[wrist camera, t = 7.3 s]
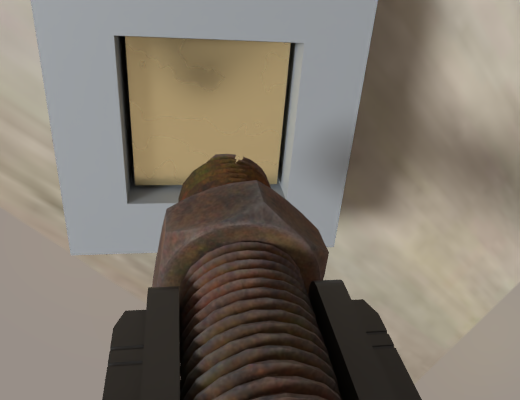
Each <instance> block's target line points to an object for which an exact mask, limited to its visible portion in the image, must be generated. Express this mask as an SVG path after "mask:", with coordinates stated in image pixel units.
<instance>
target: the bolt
mask: <svg viewBox="0 0 520 400" xmlns="http://www.w3.org/2000/svg"><path fill="white" fill-rule="evenodd" d="M235 157H236V155H235V154H215V156H213V157H212V158H211V159H210V160H208V161H207V162H206V163H205V164H203V165H201V166H200V167H198V168H197V169H195V170H194V171H193V172H192V173H191V174H190V175H189V177H188V178H187V179H186V180H185V182H184V183H183V185H182V188H181V191H180V195H179V198H178V203H176V204H174V205H173V206H171V207H169V208H167V209H166V213H165V217H164V221H163V225H162V230H161V235H160V240H159V246H158V252H157V257H156V263H155V270H154V276H153V285H152V287H172V286H179V319H180V322H179V324H180V377H181V380H180V400H343V399H342V397H341V394H340V392H339V389H338V382H337V378H336V375H335V373H334V369H333V366H332V364H331V361H330V359H329V354H328V350H327V348H326V346H325V343H324V338H323V336H322V334H321V331H320V329H319V326H318V324H317V322H316V315H315V314H314V310H313V307H312V305H311V303H310V298H309V296H308V292H309V286H310V283H311V281H322V280H323V278H324V274H325V269H326V264H327V259H328V254H329V252H328V250H327V248H326V245H325V243H324V241H323V239H322V236H321V234H320V232H319V230H318V229H317V228H316V227H315V226H314V225H313V224H312V223H311V222H310V221H309V220H308V219H307V218H306V217H305V216H304V215H303V214H302V213H301V212H300V211H299V210H298V209H297V208H295V207H294V206H293V205H292V204H291V203H290V202H289V201H287V200H286V199H285V198H283V197H282V196H281V195H279V194H278V193H277V192H275V191H274V190H273V189H271V186H270V184H269V181H268V179H267V176H266V174H265V173H264V171H263V169H262V168H261V167H260V166H259V165H258V164H256V163H255V162H253V161H252V160H250V159H248V158H246V157H243V159H242V160H238V161H237V162H236V159H235Z"/></svg>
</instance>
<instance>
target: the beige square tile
mask: <svg viewBox="0 0 520 400" xmlns="http://www.w3.org/2000/svg"><path fill="white" fill-rule="evenodd" d="M125 43H126V58H127V72H128V87H129V102H130V116H131V131H132V145H133V160H134V175H135V185H183V183H184V182H185V180H186V179H187V178H188V177H189V175H190V174H191V173H192V172H193V171H194V170H195V169H197V168H198V167H200V166H201V165H203V164H205V163H206V162H207V161H208V160H210V159H211V158H212V157H213V156H215V154H235V155H236V157H235V159H236V162H237V161H238V160H242V159H243V157H246V158H248V159H250V160H252V161H253V162H255V163H256V164H258V165H259V166H260V167H261V168H262V169H263V171H264V173H265V174H266V176H267V179H268V181H269V184H277V177H278V167H279V157H280V146H281V136H282V126H283V116H284V106H285V96H286V85H287V75H288V65H289V55H290V45H291V43H290V42H268V41H243V40H218V39H192V38H167V37H142V36H125Z"/></svg>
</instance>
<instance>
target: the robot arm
mask: <svg viewBox="0 0 520 400" xmlns="http://www.w3.org/2000/svg"><path fill="white" fill-rule="evenodd" d="M308 296H309V298H310V303H311V305H312V307H313V310H314V314H315V315H316V322H317V324H318V326H319V329H320V331H321V334H322V336H323V338H324V343H325V346H326V348H327V350H328V354H329V359H330V361H331V364H332V366H333V369H334V373H335V375H336V378H337V382H338V389H339V392H340V394H341V397H342V399H343V400H422V399H421V397H420V396H419V393H418V391H417V390H416V388H415V386H414V384H413V382H412V380H411V378H410V376H409V374H408V372H407V370H406V368H405V366H404V364H403V362H402V360H401V358H400V356H399V354H398V352H397V350H396V348H394V344H393V342H392V340H391V338H390V336H389V334H387V330H386V328H385V326H384V324H383V322H382V320H381V318H380V316H379V314H378V313H377V312H376V311H375V310H374V309H373V308H372V307H371V306H370V305H368V304H367V303H366V302H365V301H364V300H363V299H362V300H351V298H350V296H349V294H348V291H347V289H346V287H345V285H344V283H343V281H342V280H322V281H311V283H310V286H309V292H308ZM179 322H180V319H179V286H172V287H149V288H148V296H147V309H146V310H136V311H135V310H133V311H125V312H124V313H123V315H122V316H121V318H120V319H119V321H118V322H117V323H116V325H115V326H114V328H113V334H112V341H111V350H110V354H109V360H108V367H107V373H106V379H105V386H104V393H103V399H102V400H180V324H179Z"/></svg>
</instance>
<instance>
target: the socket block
mask: <svg viewBox="0 0 520 400" xmlns="http://www.w3.org/2000/svg"><path fill="white" fill-rule="evenodd" d="M377 3H378V0H31V5H32V11H33V18H34V24H35V30H36V37H37V43H38V49H39V56H40V62H41V68H42V75H43V81H44V88H45V94H46V100H47V107H48V113H49V119H50V126H51V132H52V138H53V145H54V151H55V157H56V164H57V170H58V176H59V183H60V189H61V196H62V202H63V208H64V215H65V221H66V227H67V234H68V240H69V246H70V253H71V255H93V254H125V253H157V252H158V246H159V240H160V235H161V230H162V225H163V221H164V217H165V213H166V209H167V208H169V207H171V206H173V205H174V204H176V203H178V198H179V195H180V191H181V188H182V185H135V175H134V160H133V145H132V131H131V116H130V102H129V87H128V72H127V58H126V43H125V36H142V37H167V38H192V39H218V40H243V41H268V42H290V43H291V45H290V55H289V65H288V75H287V85H286V96H285V106H284V116H283V126H282V136H281V146H280V157H279V167H278V177H277V184H270V186H271V189H273V190H274V191H275V192H277V193H278V194H279V195H281V196H282V197H283V198H285V199H286V200H287V201H289V202H290V203H291V204H292V205H293V206H294V207H295V208H297V209H298V210H299V211H300V212H301V213H302V214H303V215H304V216H305V217H306V218H307V219H308V220H309V221H310V222H311V223H312V224H313V225H314V226H315V227H316V228H317V229H318V230H319V232H320V234H321V236H322V239H323V241H324V243H325V245H326V247H334V243H335V238H336V232H337V227H338V221H339V215H340V210H341V204H342V199H343V193H344V187H345V182H346V176H347V171H348V165H349V159H350V154H351V148H352V143H353V137H354V131H355V126H356V120H357V115H358V109H359V104H360V98H361V92H362V87H363V81H364V76H365V70H366V64H367V59H368V53H369V48H370V42H371V36H372V31H373V25H374V20H375V14H376V8H377Z"/></svg>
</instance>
